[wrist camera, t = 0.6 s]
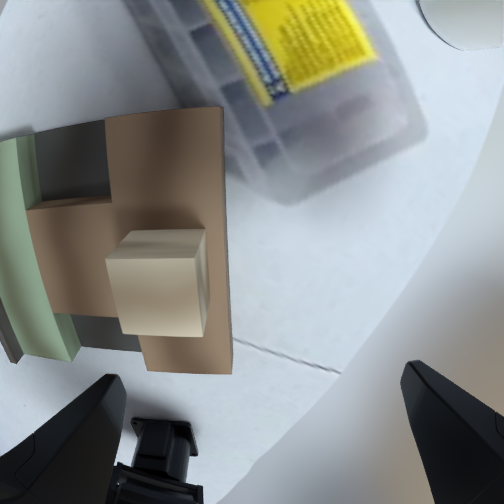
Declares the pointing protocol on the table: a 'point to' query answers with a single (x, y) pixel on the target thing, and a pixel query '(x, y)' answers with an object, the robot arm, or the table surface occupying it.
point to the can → (467, 22)
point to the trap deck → (109, 232)
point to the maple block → (161, 282)
